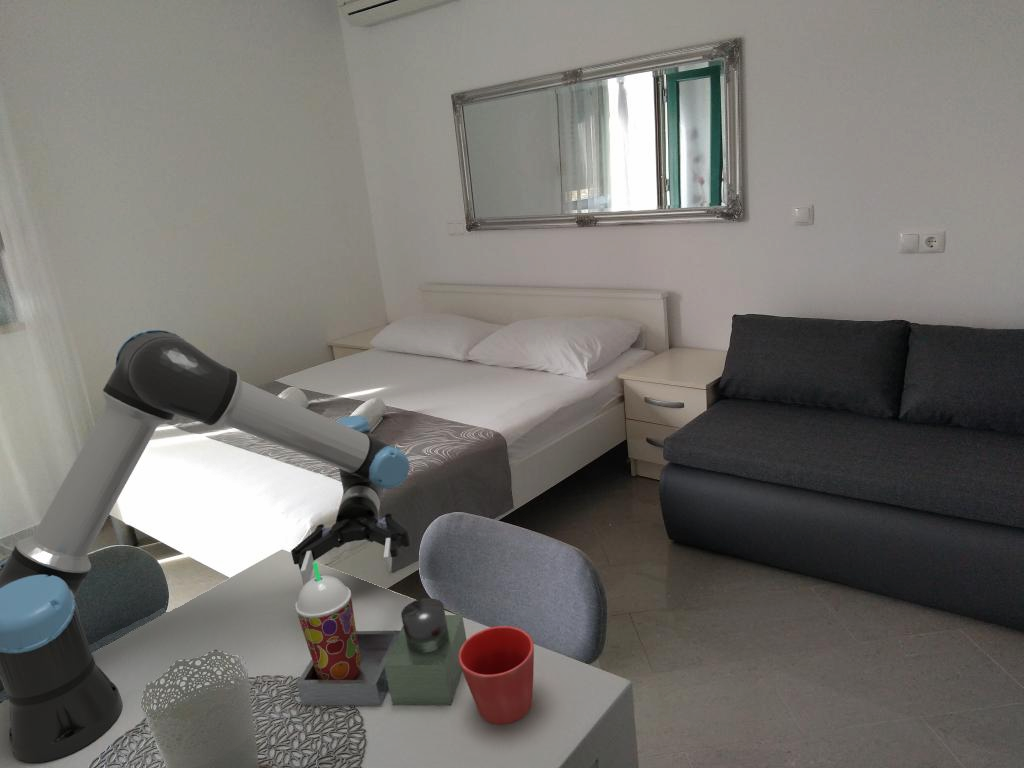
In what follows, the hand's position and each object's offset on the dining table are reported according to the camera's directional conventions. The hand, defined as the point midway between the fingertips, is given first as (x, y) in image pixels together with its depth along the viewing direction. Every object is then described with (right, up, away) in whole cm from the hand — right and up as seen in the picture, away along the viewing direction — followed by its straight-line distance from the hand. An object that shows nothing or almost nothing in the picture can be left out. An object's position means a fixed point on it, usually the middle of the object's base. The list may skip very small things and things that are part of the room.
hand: (345, 571), depth 124 cm
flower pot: (+26, -16, -15) cm, 34 cm away
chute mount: (+8, -15, -6) cm, 18 cm away
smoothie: (0, -15, -5) cm, 16 cm away
